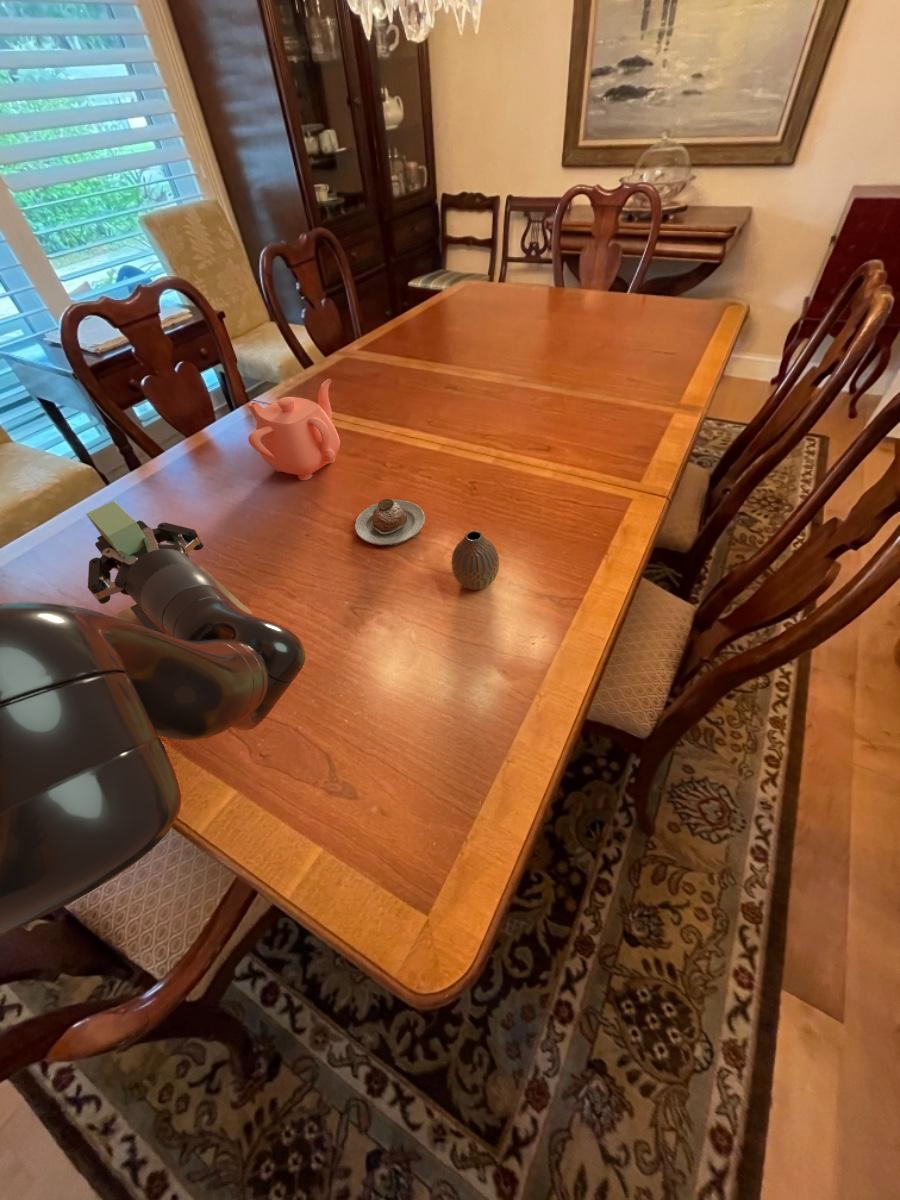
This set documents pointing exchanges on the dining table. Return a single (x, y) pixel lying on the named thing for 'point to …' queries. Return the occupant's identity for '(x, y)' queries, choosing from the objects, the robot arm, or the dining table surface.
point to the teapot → (296, 434)
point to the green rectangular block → (117, 528)
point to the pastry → (390, 522)
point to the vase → (475, 561)
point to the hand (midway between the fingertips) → (118, 534)
